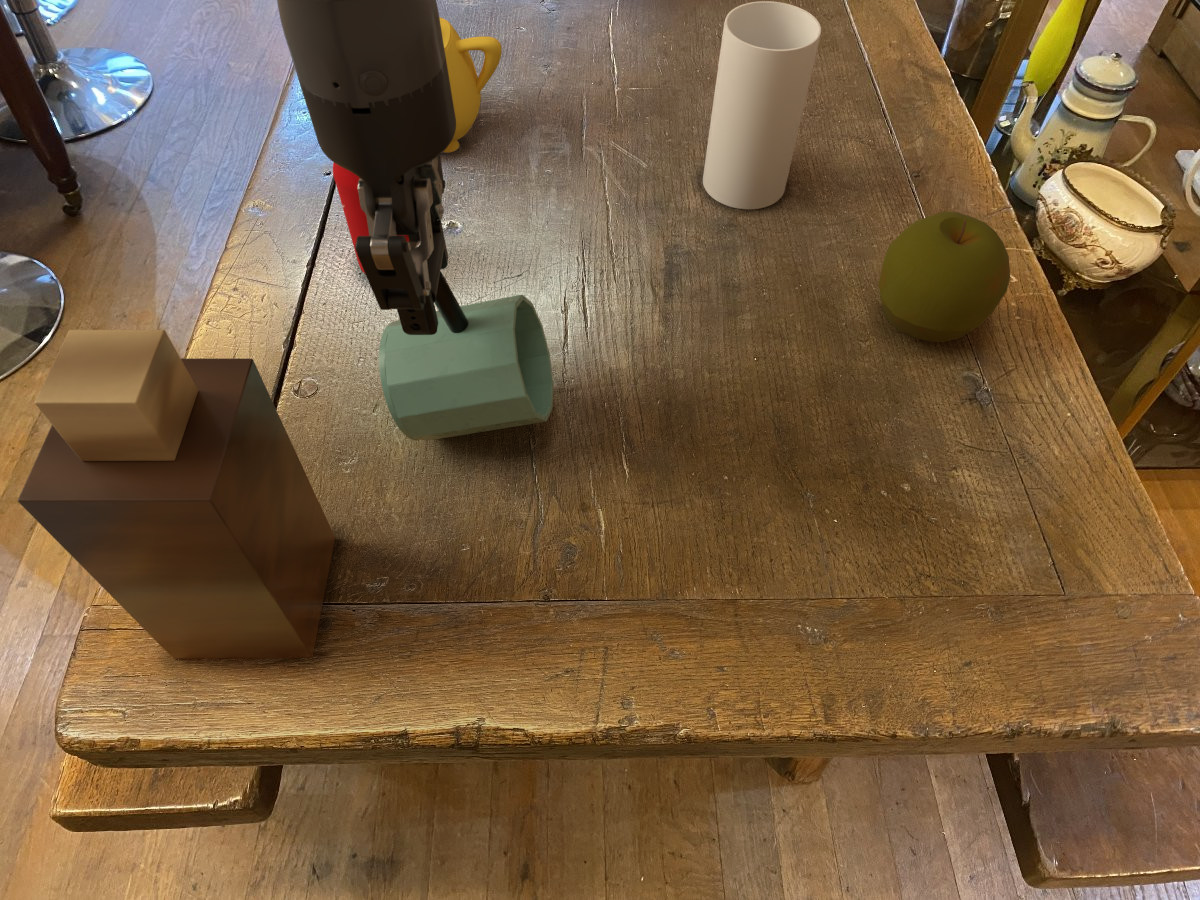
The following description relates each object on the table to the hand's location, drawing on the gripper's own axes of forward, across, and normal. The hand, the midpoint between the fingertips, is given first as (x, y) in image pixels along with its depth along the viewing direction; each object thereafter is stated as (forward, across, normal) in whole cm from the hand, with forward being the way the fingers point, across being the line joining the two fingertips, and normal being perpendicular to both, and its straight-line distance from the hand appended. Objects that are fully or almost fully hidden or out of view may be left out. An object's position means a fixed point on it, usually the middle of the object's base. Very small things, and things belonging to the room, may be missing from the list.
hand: (427, 297), depth 57 cm
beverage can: (+13, -18, -7) cm, 23 cm away
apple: (+14, -11, +39) cm, 43 cm away
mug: (+5, 0, -4) cm, 7 cm away
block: (-6, +16, -11) cm, 20 cm away
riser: (+13, +16, -12) cm, 23 cm away
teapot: (+13, -36, -7) cm, 39 cm away
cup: (+14, -30, +26) cm, 42 cm away
